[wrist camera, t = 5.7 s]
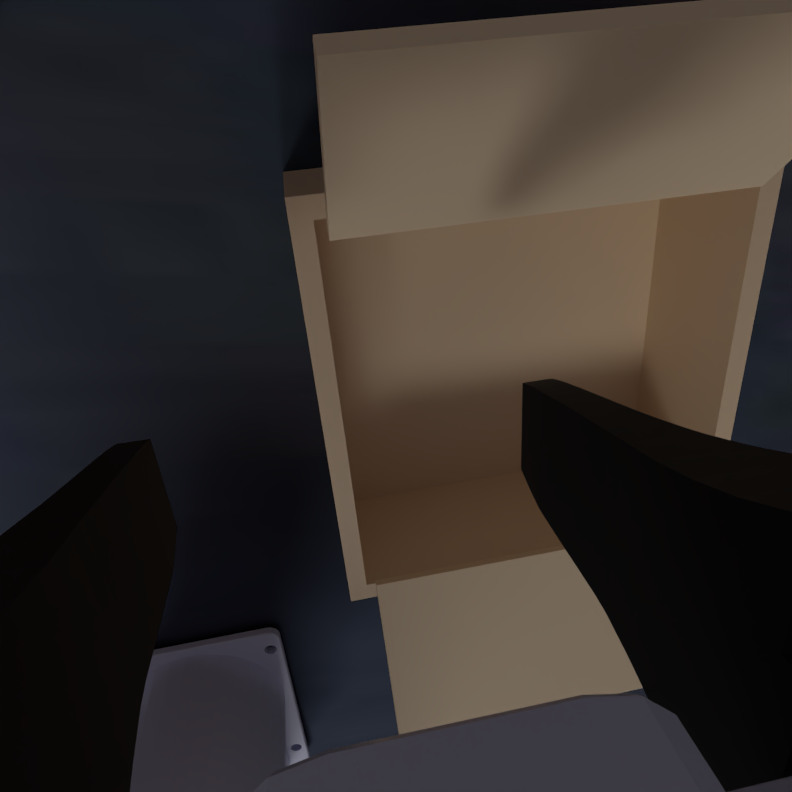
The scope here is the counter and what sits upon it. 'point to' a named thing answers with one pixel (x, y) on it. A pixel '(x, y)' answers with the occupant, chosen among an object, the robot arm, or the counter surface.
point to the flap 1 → (551, 112)
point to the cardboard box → (509, 353)
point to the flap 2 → (496, 638)
